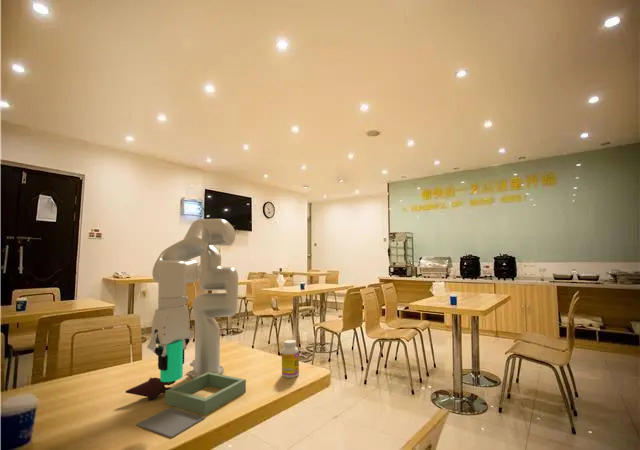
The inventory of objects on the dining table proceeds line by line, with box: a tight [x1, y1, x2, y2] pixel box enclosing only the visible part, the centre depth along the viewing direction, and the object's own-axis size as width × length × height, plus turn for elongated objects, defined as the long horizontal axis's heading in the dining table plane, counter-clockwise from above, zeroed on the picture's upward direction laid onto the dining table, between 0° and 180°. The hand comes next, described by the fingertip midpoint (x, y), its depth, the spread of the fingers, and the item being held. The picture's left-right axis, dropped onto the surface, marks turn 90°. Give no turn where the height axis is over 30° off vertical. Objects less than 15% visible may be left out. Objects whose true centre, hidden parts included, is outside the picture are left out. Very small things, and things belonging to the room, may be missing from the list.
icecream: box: [125, 377, 176, 401], centre depth 109 cm, size 7×7×15 cm
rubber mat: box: [135, 406, 206, 439], centre depth 93 cm, size 15×11×1 cm
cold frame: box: [164, 372, 247, 416], centre depth 108 cm, size 18×18×4 cm
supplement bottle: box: [281, 339, 300, 379], centre depth 126 cm, size 7×7×13 cm
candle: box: [159, 340, 184, 382], centre depth 94 cm, size 6×6×12 cm
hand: (171, 365), depth 94 cm, fingers closed on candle, 4 cm apart
